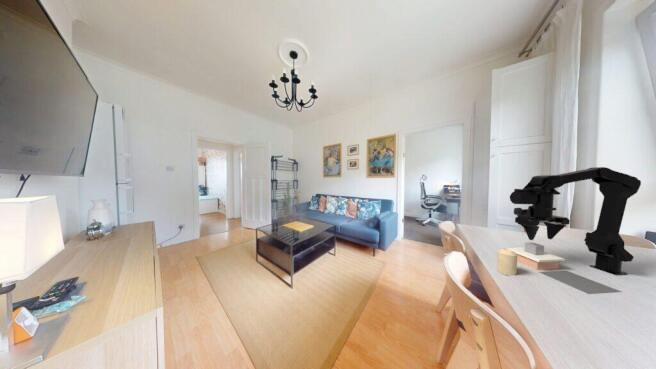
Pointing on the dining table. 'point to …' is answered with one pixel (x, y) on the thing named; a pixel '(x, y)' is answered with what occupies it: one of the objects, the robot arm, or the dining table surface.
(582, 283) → the mat
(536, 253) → the lid
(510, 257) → the candle
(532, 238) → the robot arm
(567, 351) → the dining table surface
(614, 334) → the dining table surface
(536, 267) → the dish
